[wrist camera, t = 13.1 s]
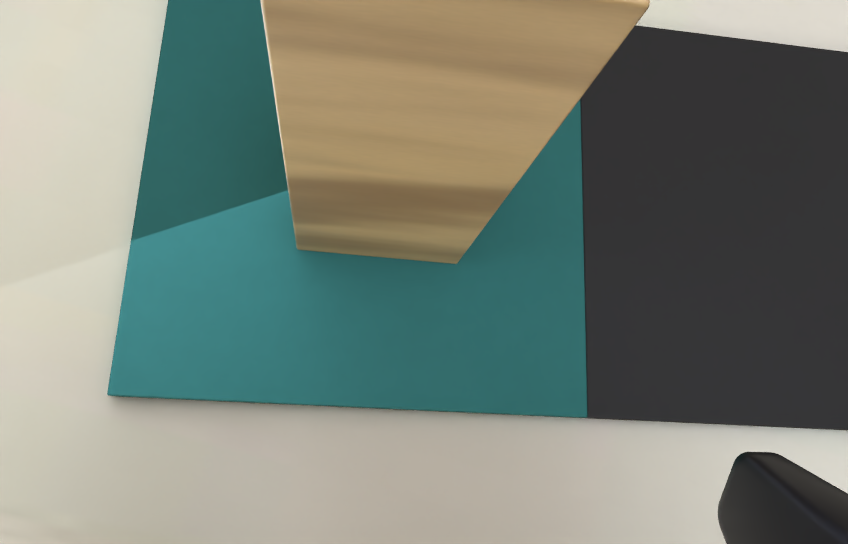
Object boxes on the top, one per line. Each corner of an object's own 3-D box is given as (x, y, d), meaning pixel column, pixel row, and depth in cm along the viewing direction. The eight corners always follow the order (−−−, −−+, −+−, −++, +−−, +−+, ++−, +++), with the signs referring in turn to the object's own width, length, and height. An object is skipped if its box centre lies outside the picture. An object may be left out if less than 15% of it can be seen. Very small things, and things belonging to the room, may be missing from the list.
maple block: (457, 264, 21) (652, 6, 8) (296, 250, 20) (251, -52, 8) (463, 119, 22) (641, -290, 10) (311, 102, 22) (295, -361, 9)
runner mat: (1031, 438, 23) (1043, 438, 22) (111, 395, 19) (106, 395, 19) (964, 73, 26) (973, 67, 26) (175, -26, 22) (173, -34, 22)
